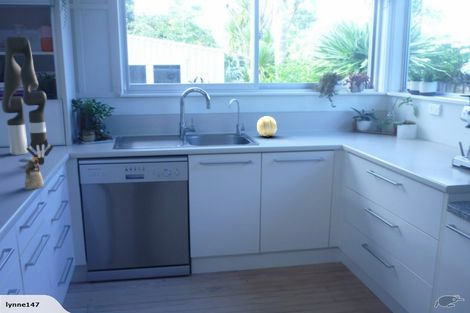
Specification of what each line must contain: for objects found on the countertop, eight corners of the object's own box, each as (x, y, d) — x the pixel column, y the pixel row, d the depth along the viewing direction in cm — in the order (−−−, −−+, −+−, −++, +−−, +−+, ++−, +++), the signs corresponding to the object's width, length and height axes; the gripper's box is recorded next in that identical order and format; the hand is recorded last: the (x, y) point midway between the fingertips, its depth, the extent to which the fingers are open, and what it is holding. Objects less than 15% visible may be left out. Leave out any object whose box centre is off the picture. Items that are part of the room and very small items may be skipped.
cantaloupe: (271, 138, 299) (271, 117, 296) (253, 137, 307) (253, 116, 304) (280, 135, 312) (280, 115, 309) (262, 134, 319) (262, 114, 316)
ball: (30, 164, 222) (29, 154, 220) (40, 162, 226) (39, 152, 225) (36, 165, 219) (35, 155, 217) (46, 163, 223) (45, 153, 222)
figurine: (29, 184, 183) (26, 157, 180) (46, 184, 183) (43, 157, 181) (22, 189, 176) (19, 161, 173) (39, 189, 176) (36, 161, 174)
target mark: (15, 159, 233) (15, 159, 233) (36, 156, 243) (36, 155, 243) (27, 162, 227) (27, 162, 226) (48, 158, 236) (48, 158, 236)
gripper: (25, 133, 207) (28, 167, 210) (53, 130, 214) (56, 164, 218) (22, 131, 212) (25, 164, 216) (50, 129, 220) (53, 161, 224)
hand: (41, 164), depth 217 cm, fingers closed
